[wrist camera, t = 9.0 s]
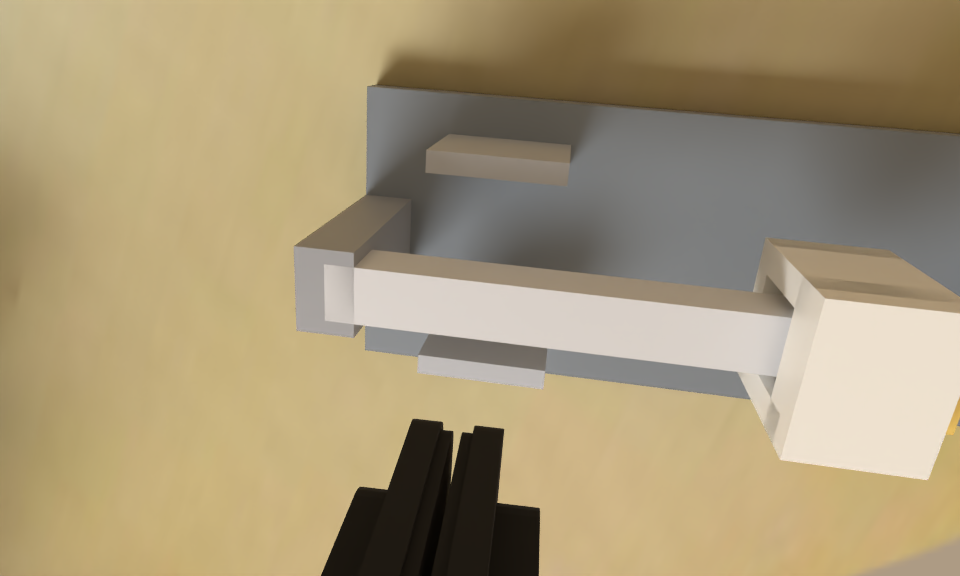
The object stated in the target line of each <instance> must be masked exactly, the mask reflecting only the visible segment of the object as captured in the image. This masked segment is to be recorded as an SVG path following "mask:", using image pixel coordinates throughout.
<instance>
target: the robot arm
mask: <svg viewBox="0 0 960 576" xmlns="http://www.w3.org/2000/svg"><path fill="white" fill-rule="evenodd" d="M503 436H504V429H501V428H492V427H483V426H475V427H474V431H473V433H464V432H462V435H461V440H460V444H459V449H458V453H457V458H456V463H455V467H454V472H453V477H452V481H451V469H452V452H453V431H446V430H443V422H438V421H429V420H420V419H413V420H412V422H411V424H410V427H409V430H408V433H407V436H406V439H405V442H404V445H403V447H402V450H401V453H400V456H399V459H398V462H397V465H396V467H395V470H394V473H393V476H392V479H391V482H390V485H389V487H388V490H384V489H375V488H367V487H359V488H358V489H357V491H356V493H355V495H354V498H353V500H352V502H351V505H350V507H349V510H348V512H347V514H346V517H345V519H344V522H343V524H342V526H341V529H340V531H339V534H338V536H337V538H336V541H335V543H334V546H333V548H332V550H331V553H330V555H329V558H328V560H327V562H326V565H325V567H324V570H323V572H322V574H321V576H539V534H540V509H539V508H534V507H526V506H518V505H509V504H501V503H497V501H498V490H499V479H500V468H501V458H502V447H503Z"/></svg>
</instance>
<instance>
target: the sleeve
mask: <svg viewBox="0 0 960 576" xmlns="http://www.w3.org/2000/svg"><path fill="white" fill-rule="evenodd" d="M753 292H757V293H766V294H775V295H784V296H785V297H786V298H787V300H788V301H789V302H790V303H791V304H792V306H793V307H794V312H793V316H792V320H791V323H790V327H789V331H788V335H787V339H786V342H785V346H784V350H783V354H782V358H781V362H780V365H779V369H778V373H777V377H774V376H766V375H758V374H750V373H742V372H738V374H739V376H740V378H741V380H742V383H743V385H744V387H745V389H746V391H747V393H748V395H749V397H750V399H751V401H752V403H753V405H754V407H755V409H756V411H757V413H758V415H759V417H760V419H761V422H762V424H763V426H764V428H765V430H766V432H767V434H768V436H769V438H770V440H771V442H772V444H773V446H774V448H775V450H776V452H777V454H778V456H779V459H780V460H785V461H792V462H799V463H807V464H814V465H821V466H828V467H836V468H843V469H850V470H858V471H865V472H872V473H880V474H887V475H894V476H902V477H909V478H916V479H923V480H928V479H929V476H930V473H931V471H932V468H933V466H934V463H935V460H936V458H937V455H938V452H939V450H940V447H941V445H942V442H943V439H944V437H945V434H946V431H947V429H948V426H949V423H950V421H951V418H952V416H953V413H954V410H955V408H956V405H957V402H958V400H959V397H960V297H959V296H958V295H956V294H955V293H953V292H952V291H950V290H949V289H947V288H946V287H944V286H943V285H941V284H940V283H938V282H937V281H935V280H934V279H932V278H930V277H929V276H927V275H926V274H924V273H923V272H921V271H920V270H918V269H917V268H915V267H914V266H912V265H911V264H909V263H908V262H906V261H905V260H903V259H902V258H900V257H899V256H897V255H896V254H894V253H893V252H891V251H890V250H884V249H874V248H864V247H854V246H845V245H835V244H825V243H815V242H806V241H796V240H786V239H776V238H767V237H766V238H765V242H764V246H763V251H762V255H761V259H760V263H759V268H758V272H757V276H756V280H755V285H754V289H753Z"/></svg>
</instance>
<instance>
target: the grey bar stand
mask: <svg viewBox="0 0 960 576" xmlns="http://www.w3.org/2000/svg"><path fill="white" fill-rule="evenodd" d="M766 237H767V238H776V239H786V240H796V241H806V242H815V243H825V244H835V245H845V246H854V247H864V248H874V249H884V250H890V251H891V252H893V253H894V254H896V255H897V256H899V257H900V258H902V259H903V260H905V261H906V262H908V263H909V264H911V265H912V266H914V267H915V268H917V269H918V270H920V271H921V272H923V273H924V274H926V275H927V276H929V277H930V278H932V279H934V280H935V281H937V282H938V283H940V284H941V285H943V286H944V287H946V288H947V289H949V290H950V291H952V292H953V293H955V294H956V295H958V296H959V297H960V134H956V133H945V132H933V131H921V130H909V129H897V128H885V127H873V126H861V125H849V124H837V123H825V122H813V121H801V120H790V119H778V118H766V117H754V116H742V115H730V114H718V113H706V112H694V111H682V110H670V109H658V108H646V107H635V106H623V105H611V104H599V103H587V102H575V101H563V100H551V99H539V98H527V97H515V96H503V95H491V94H480V93H468V92H456V91H444V90H432V89H420V88H408V87H396V86H384V85H372V86H367V183H366V195H365V196H364V197H362V198H361V199H360V200H358V201H357V202H355V203H354V204H353V205H351V206H350V207H348V208H347V209H346V210H344V211H343V212H341V213H340V214H338V215H337V216H336V217H334V218H333V219H331V220H330V221H329V222H327V223H326V224H324V225H323V226H322V227H320V228H319V229H317V230H316V231H314V232H313V233H312V234H310V235H309V236H307V237H306V238H305V239H303V240H302V241H300V242H299V243H298V244H296V245H295V246H294V267H295V297H296V326H297V331H303V332H311V333H319V334H327V335H335V336H343V337H351V338H354V337H355V336H356V334H357V333H358V332H359V330H360V329H361V328H362V326H365V350H368V351H376V352H384V353H392V354H400V355H407V356H415V357H418V372H417V373H422V374H430V375H437V376H445V377H453V378H460V379H468V380H476V381H483V382H491V383H499V384H506V385H514V386H522V387H529V388H537V389H543V386H544V377H545V373H548V374H556V375H564V376H571V377H579V378H587V379H595V380H603V381H610V382H618V383H626V384H634V385H642V386H649V387H657V388H665V389H673V390H681V391H688V392H696V393H704V394H712V395H720V396H727V397H735V398H743V399H750V397H749V395H748V393H747V391H746V389H745V387H744V385H743V383H742V380H741V378H740V376H739V374H738V372H742V373H750V374H758V375H766V376H774V377H777V373H778V369H779V365H780V362H781V358H782V354H783V350H784V346H785V342H786V339H787V335H788V331H789V327H790V323H791V320H792V316H793V312H794V307H793V306H792V304H791V303H790V302H789V301H788V300H787V298H786V297H785V296H784V295H775V294H766V293H757V292H753V289H754V285H755V280H756V276H757V272H758V268H759V263H760V259H761V255H762V251H763V246H764V242H765V238H766ZM957 426H960V397H959V400H958V402H957V405H956V408H955V410H954V413H953V416H952V418H951V421H950V423H949V426H948V429H947V431H946V434H948V435H953V434H954V432H955V429H956V427H957Z"/></svg>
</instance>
